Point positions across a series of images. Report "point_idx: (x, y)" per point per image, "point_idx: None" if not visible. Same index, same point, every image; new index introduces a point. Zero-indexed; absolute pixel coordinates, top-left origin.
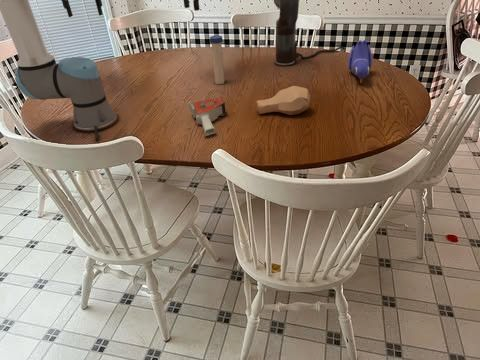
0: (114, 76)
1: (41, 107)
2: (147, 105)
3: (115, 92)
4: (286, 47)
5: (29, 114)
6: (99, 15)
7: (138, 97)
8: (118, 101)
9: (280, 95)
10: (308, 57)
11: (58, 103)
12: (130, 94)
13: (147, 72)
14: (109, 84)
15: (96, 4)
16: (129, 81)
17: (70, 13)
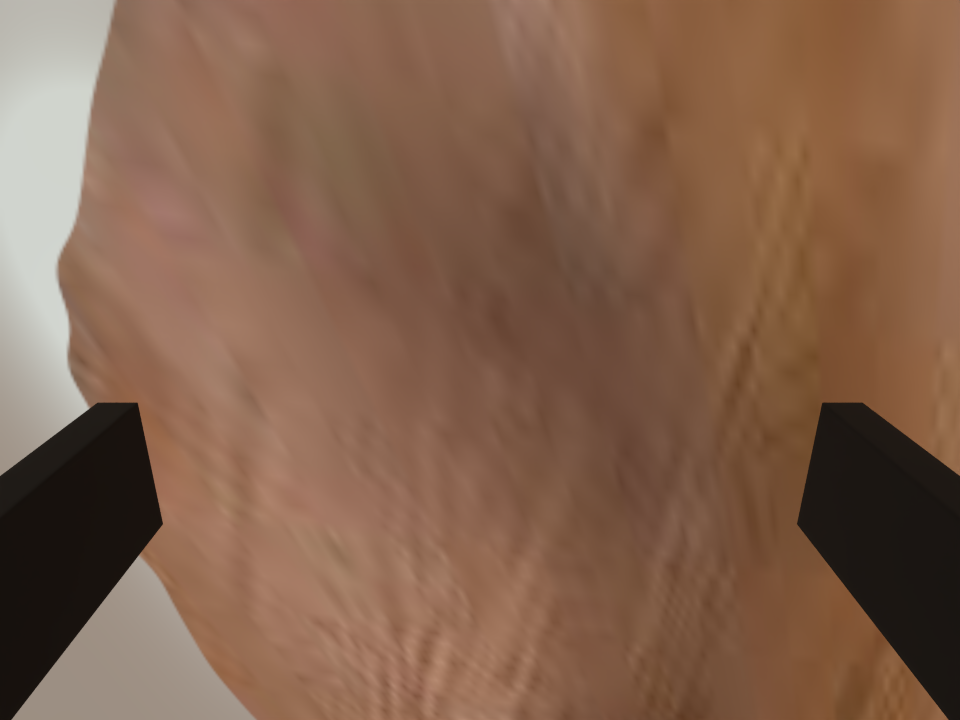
0: (565, 214)
1: (280, 647)
2: (850, 674)
3: (645, 509)
4: None
5: (265, 708)
6: (804, 525)
7: (796, 587)
8: (689, 621)
9: None
10: None
11: (350, 613)
12: (744, 545)
13: (837, 152)
14: (570, 377)
15: (951, 715)
16: (708, 339)
17: (120, 518)
